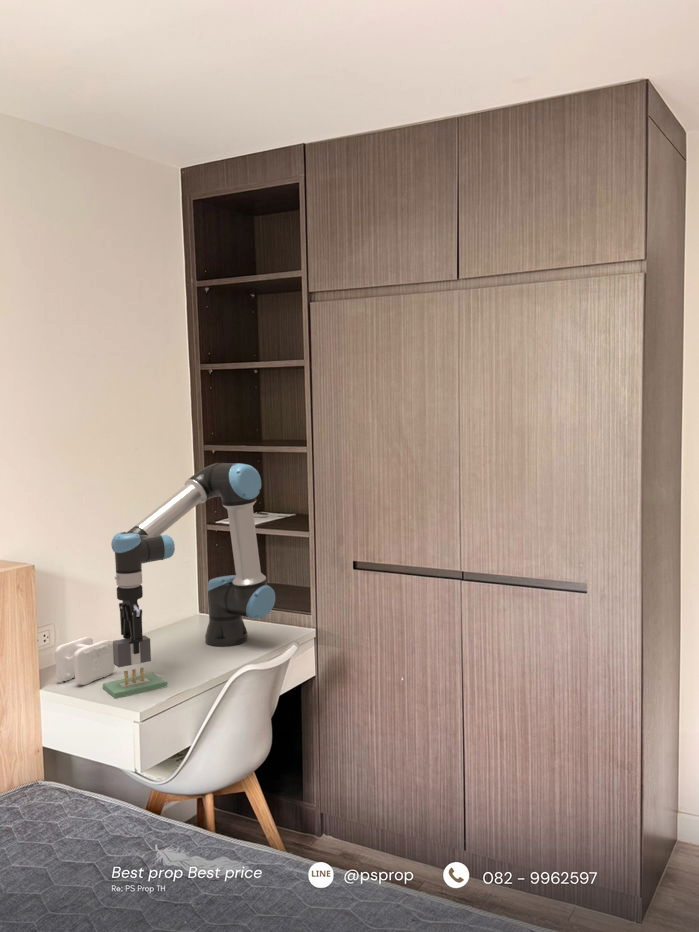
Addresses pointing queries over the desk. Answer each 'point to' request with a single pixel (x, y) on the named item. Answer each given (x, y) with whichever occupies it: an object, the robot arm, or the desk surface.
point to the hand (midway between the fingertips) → (132, 661)
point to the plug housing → (124, 655)
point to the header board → (134, 684)
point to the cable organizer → (84, 660)
